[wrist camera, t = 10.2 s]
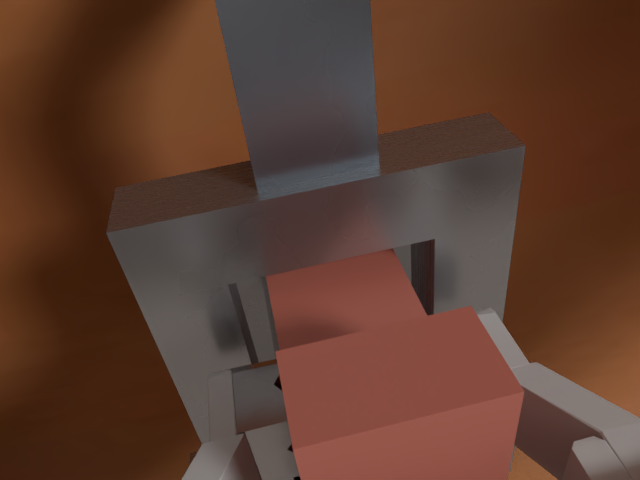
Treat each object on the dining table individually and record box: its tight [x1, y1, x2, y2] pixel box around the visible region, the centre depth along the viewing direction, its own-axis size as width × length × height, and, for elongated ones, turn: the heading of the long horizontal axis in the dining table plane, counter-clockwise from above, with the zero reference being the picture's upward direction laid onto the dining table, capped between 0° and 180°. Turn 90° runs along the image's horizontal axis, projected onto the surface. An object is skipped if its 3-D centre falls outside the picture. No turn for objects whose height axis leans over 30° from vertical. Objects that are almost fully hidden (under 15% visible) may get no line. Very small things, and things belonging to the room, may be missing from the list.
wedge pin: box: [266, 248, 524, 480], centre depth 11 cm, size 7×3×7 cm, turn 7°
